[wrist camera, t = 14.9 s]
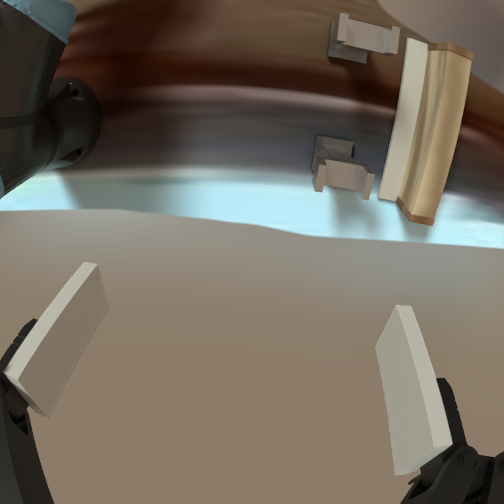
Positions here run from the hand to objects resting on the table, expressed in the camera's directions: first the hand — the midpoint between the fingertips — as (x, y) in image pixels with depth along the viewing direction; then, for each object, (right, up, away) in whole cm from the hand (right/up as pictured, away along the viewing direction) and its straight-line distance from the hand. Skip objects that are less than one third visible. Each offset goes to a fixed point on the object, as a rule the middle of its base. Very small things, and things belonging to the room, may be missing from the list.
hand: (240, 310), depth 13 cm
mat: (+25, +20, +23) cm, 39 cm away
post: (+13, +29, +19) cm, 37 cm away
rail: (+25, +20, +23) cm, 39 cm away
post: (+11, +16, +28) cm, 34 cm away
